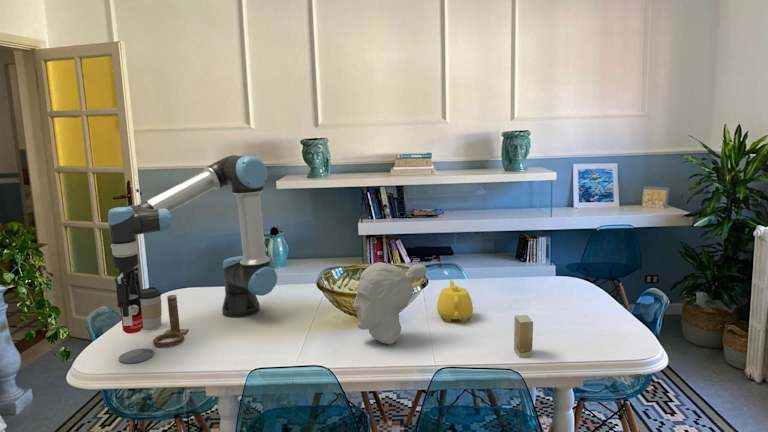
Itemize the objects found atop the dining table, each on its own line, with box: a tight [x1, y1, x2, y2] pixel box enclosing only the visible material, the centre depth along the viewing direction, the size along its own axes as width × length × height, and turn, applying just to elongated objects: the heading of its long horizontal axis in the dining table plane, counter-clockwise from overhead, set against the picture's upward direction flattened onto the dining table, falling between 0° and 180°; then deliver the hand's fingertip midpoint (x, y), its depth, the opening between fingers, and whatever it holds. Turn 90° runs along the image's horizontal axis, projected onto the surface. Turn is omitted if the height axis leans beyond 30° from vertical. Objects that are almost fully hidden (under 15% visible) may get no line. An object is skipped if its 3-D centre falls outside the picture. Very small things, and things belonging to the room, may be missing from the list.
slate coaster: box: [118, 348, 155, 365], centre depth 190 cm, size 11×11×1 cm
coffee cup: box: [139, 286, 163, 331], centre depth 217 cm, size 9×9×15 cm
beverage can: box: [119, 295, 143, 335], centre depth 188 cm, size 6×6×12 cm
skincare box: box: [513, 314, 534, 358], centre depth 182 cm, size 6×4×12 cm
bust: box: [352, 261, 427, 345], centre depth 196 cm, size 15×26×28 cm, turn 99°
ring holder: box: [152, 294, 190, 349], centre depth 204 cm, size 10×16×15 cm, turn 3°
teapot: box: [436, 279, 474, 323], centre depth 218 cm, size 14×20×13 cm
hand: (132, 321), depth 188 cm, fingers closed on beverage can, 6 cm apart
